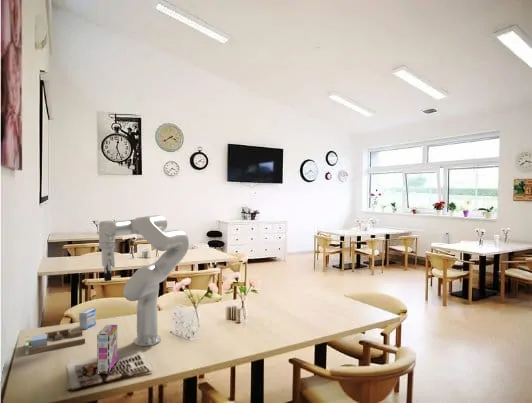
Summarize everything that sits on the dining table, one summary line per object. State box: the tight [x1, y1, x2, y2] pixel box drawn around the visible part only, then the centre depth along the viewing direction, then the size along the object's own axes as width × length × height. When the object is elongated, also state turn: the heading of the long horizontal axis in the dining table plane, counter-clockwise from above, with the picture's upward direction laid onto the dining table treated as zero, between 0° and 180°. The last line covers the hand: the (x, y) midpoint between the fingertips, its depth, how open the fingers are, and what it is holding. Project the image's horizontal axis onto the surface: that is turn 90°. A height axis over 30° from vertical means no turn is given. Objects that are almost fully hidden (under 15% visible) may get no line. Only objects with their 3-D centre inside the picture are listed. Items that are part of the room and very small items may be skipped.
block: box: [31, 333, 48, 349], centre depth 177 cm, size 6×6×5 cm
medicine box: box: [78, 308, 97, 330], centre depth 203 cm, size 8×4×9 cm, turn 168°
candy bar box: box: [96, 324, 118, 372], centre depth 156 cm, size 11×5×16 cm, turn 5°
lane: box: [25, 328, 86, 356], centre depth 183 cm, size 18×24×4 cm
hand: (107, 280), depth 194 cm, fingers closed
